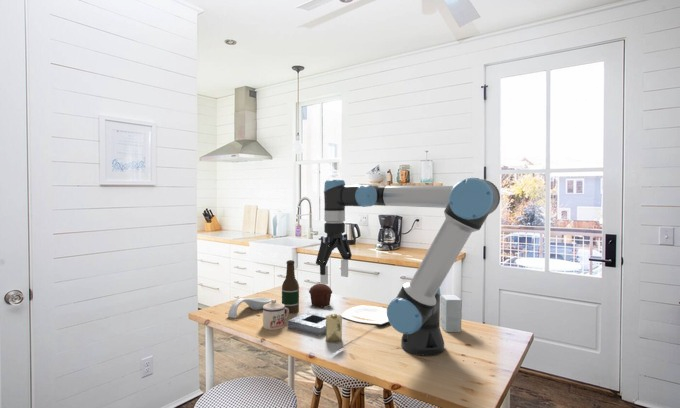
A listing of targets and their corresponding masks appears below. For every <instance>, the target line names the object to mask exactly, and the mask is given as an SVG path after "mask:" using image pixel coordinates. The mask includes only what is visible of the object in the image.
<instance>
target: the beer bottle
mask: <svg viewBox="0 0 680 408" xmlns="http://www.w3.org/2000/svg"><path fill="white" fill-rule="evenodd" d="M295 263H296V262H295V260H289V259H288V260H287V261H286V263H285V264H286V273H285V275H286V276H285V278H284V281H283V282H282V285H281V303H282V304H284V305H285V307H286V308H288V309H289V314H288V315H290V314H296V313H298V312H299V310H300V286H299V282H298V280H297V278H296V275H295V274H296V273H295ZM285 315H286V309H285Z"/></svg>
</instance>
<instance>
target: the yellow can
mask: <svg viewBox="0 0 680 408" xmlns="http://www.w3.org/2000/svg"><path fill="white" fill-rule="evenodd" d="M326 315H327V316H326V334H325V341H326V342H327V343H330V344H331V343H332V344H336V343H337V344H338V343H341V342H342V340H343V318H342V315H340V314H337V313H331V314H326Z"/></svg>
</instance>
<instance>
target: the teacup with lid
mask: <svg viewBox="0 0 680 408" xmlns="http://www.w3.org/2000/svg"><path fill="white" fill-rule="evenodd" d="M285 309H286V314H285ZM261 310H262V327H263V328H264V329H265V330H270V331H271V330H279V329H283V328H284V327H285V320H286V319H288V316H289V315H290V314H289V309H288V308H286V307H285V305H284V304H282V302H279V301H277V299H276V298H275V299H274V298H272V299H271V302H269V303H268V304H265V305H264V306H263V308H262V309H261Z"/></svg>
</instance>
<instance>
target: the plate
mask: <svg viewBox="0 0 680 408" xmlns="http://www.w3.org/2000/svg"><path fill="white" fill-rule="evenodd" d="M341 316H342V319H346V320H348V321H352V322H356V323H359V324H360V323H361V324H368V325H375V326H382V325H384V324H387V323H389V320H388V317H387V308H385V307H382V306H375V305H374V306H373V305H362V304H361V305H360V304H359V305H357V306H353V307H351V308H348V309H346V310H345V311H343V312H342V314H341ZM357 317H358V318H357ZM360 318H361V319H360ZM365 319H366V320H365Z"/></svg>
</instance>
